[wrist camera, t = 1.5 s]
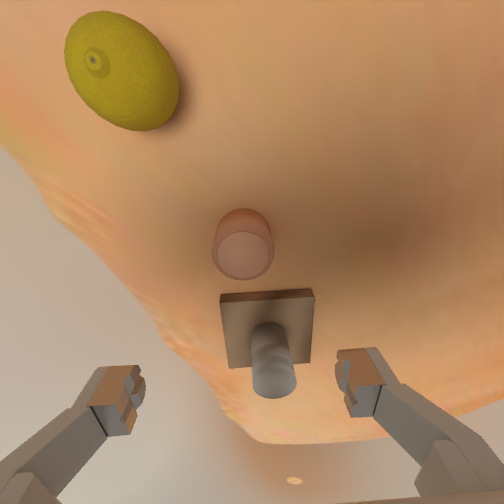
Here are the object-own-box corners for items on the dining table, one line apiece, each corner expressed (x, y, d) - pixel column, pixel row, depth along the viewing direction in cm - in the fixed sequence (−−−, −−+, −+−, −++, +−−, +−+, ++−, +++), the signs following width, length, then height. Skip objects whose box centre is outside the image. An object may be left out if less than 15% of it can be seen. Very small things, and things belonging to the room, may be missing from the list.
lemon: (204, 94, 18) (179, 67, 11) (158, 147, 20) (109, 153, 12) (145, 22, 16) (67, -68, 9) (98, 87, 18) (0, 53, 11)
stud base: (311, 288, 26) (334, 341, 20) (306, 353, 31) (325, 413, 24) (220, 294, 26) (213, 349, 20) (229, 358, 31) (225, 420, 24)
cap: (268, 206, 22) (274, 224, 18) (269, 254, 24) (275, 280, 20) (214, 210, 22) (207, 228, 18) (220, 257, 24) (215, 284, 20)
